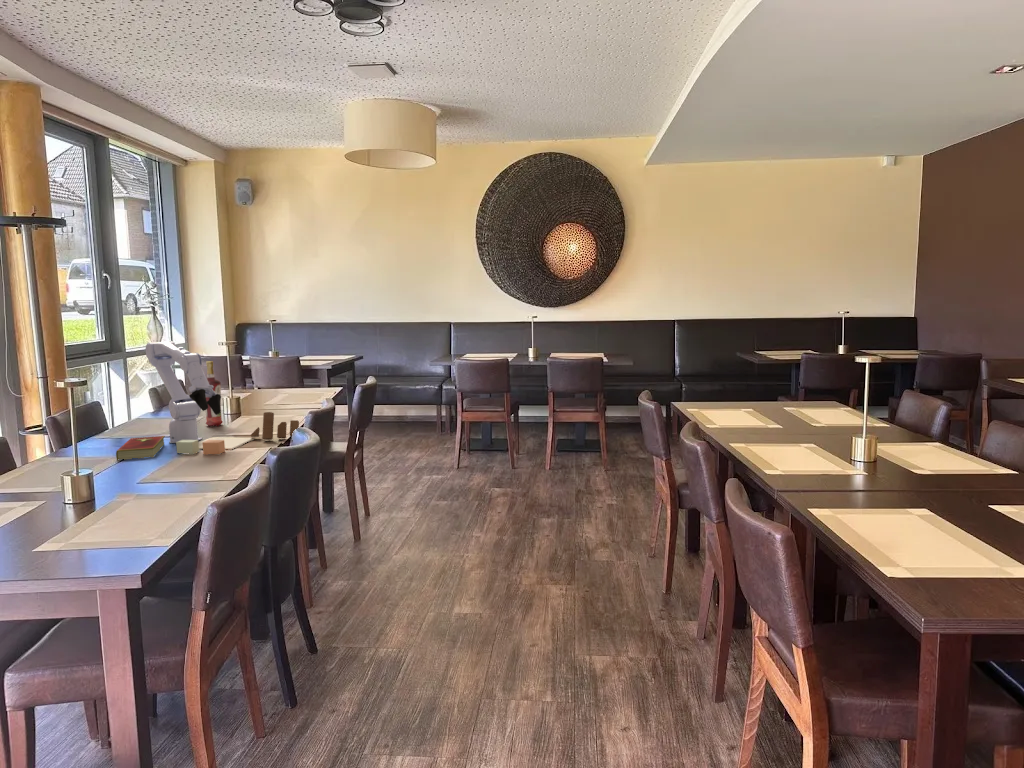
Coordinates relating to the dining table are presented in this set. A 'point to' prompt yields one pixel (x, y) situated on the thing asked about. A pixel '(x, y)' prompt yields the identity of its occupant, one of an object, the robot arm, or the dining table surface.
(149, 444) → the hardcover book
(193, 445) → the sage block
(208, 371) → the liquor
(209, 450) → the terracotta block
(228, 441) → the build pad
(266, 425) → the wooden block set
